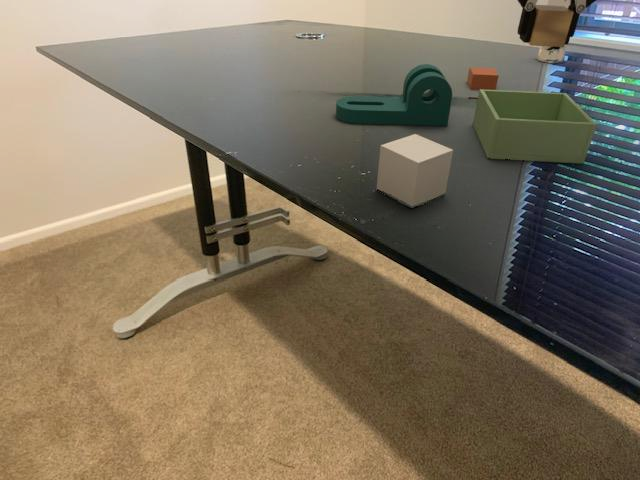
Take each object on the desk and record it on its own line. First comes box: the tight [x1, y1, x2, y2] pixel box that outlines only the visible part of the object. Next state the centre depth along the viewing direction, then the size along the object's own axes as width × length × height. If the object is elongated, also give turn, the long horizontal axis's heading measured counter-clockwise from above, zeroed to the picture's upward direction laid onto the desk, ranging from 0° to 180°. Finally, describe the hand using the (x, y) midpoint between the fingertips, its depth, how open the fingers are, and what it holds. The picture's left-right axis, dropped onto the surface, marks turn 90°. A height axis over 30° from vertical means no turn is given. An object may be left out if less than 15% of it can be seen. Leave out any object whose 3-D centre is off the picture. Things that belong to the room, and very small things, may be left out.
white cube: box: [376, 133, 454, 206], centre depth 61 cm, size 6×6×6 cm
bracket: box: [335, 63, 453, 127], centre depth 82 cm, size 18×7×8 cm, turn 89°
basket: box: [472, 89, 598, 165], centre depth 74 cm, size 13×13×6 cm
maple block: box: [527, 4, 574, 47], centre depth 70 cm, size 4×4×4 cm
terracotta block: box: [466, 67, 499, 100], centre depth 93 cm, size 4×4×4 cm
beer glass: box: [535, 0, 570, 64], centre depth 113 cm, size 7×7×15 cm
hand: (543, 40), depth 71 cm, fingers closed on maple block, 4 cm apart
